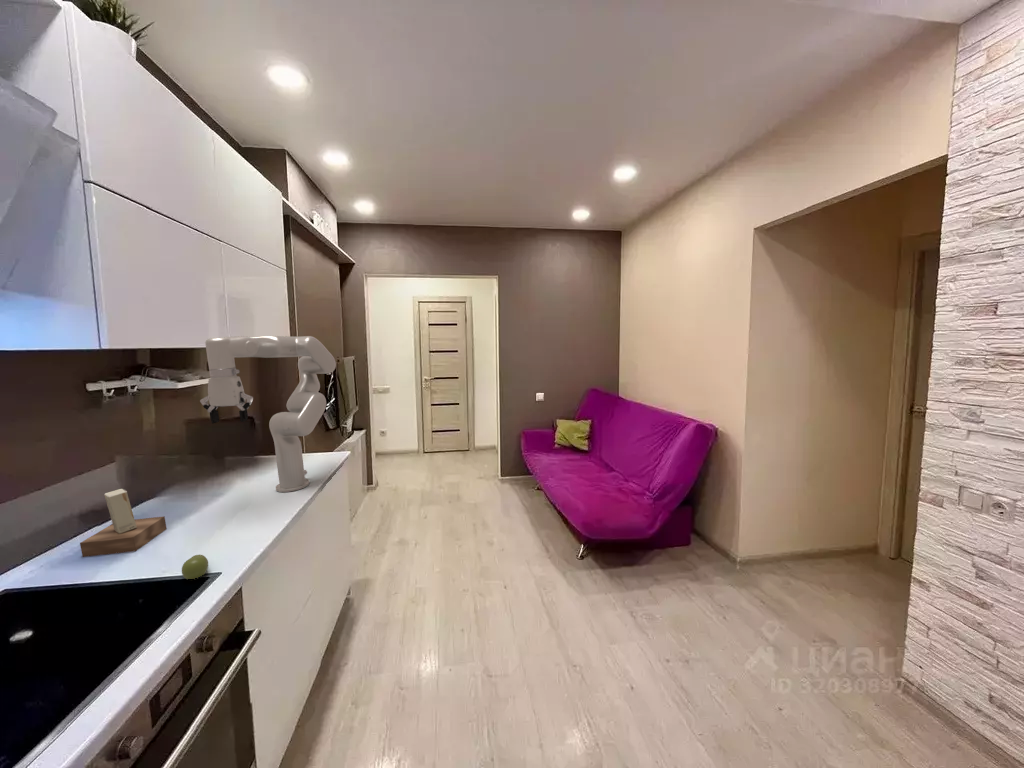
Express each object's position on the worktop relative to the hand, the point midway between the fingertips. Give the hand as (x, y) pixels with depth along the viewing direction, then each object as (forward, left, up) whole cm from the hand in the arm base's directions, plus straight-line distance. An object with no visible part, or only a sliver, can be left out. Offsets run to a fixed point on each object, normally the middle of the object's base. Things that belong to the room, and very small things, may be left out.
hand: (229, 421), depth 144 cm
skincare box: (+18, -25, -29) cm, 42 cm away
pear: (+39, +10, -34) cm, 53 cm away
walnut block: (+18, -25, -34) cm, 46 cm away
